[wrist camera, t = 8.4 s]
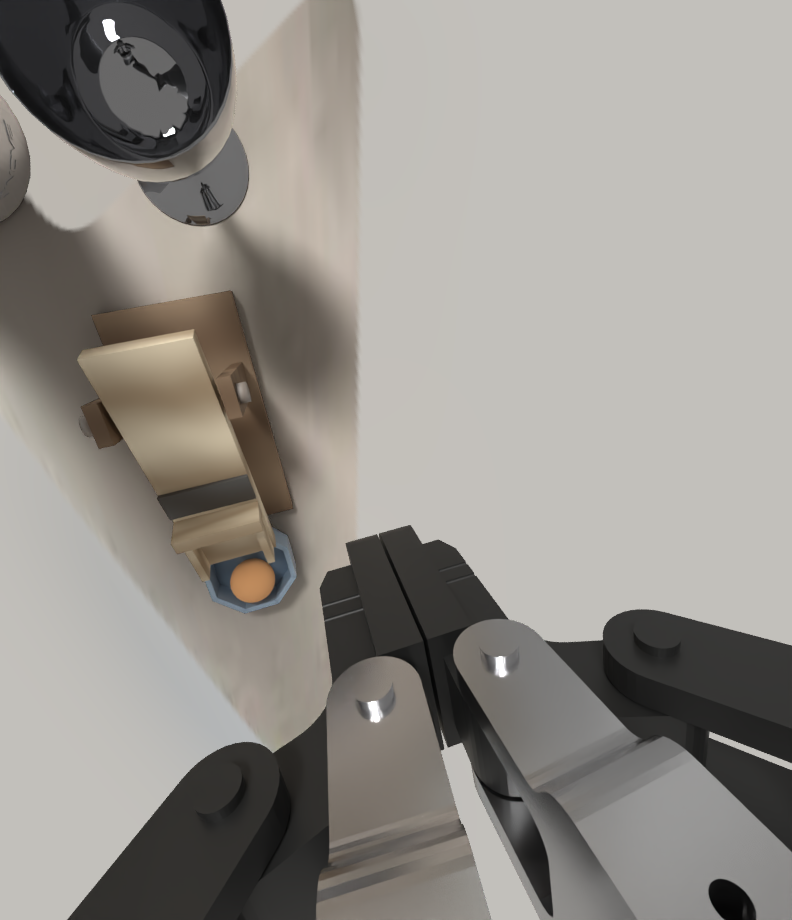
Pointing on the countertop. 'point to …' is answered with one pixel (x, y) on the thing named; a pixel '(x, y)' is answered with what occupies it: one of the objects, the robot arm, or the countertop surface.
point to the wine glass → (135, 93)
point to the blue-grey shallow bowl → (281, 566)
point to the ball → (252, 580)
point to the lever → (183, 445)
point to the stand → (229, 370)
